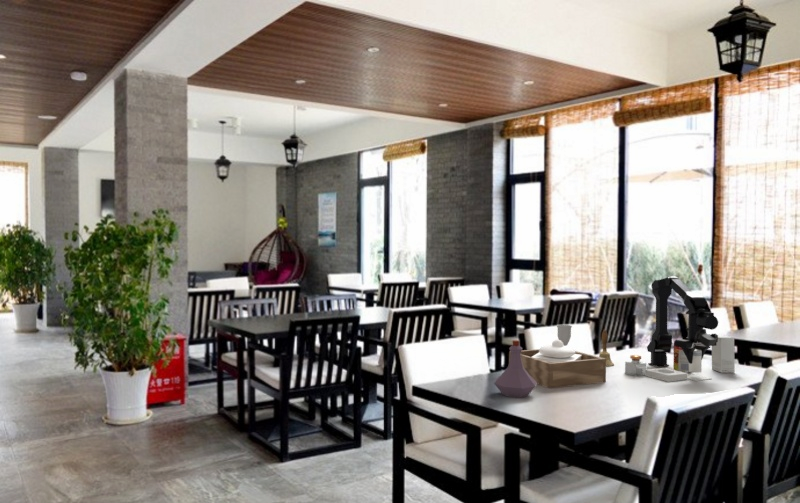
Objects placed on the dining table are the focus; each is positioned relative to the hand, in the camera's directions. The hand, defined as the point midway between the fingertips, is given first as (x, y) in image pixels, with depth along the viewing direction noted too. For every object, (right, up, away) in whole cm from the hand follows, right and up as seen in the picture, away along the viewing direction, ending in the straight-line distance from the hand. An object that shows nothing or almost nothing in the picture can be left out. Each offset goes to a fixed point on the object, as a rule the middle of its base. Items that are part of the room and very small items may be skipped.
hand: (694, 363), depth 258 cm
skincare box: (+19, -6, +15) cm, 25 cm away
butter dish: (-59, -6, -1) cm, 59 cm away
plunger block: (-22, -6, +7) cm, 24 cm away
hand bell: (-29, -6, +27) cm, 40 cm away
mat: (0, -6, 0) cm, 6 cm away
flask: (-81, -6, -30) cm, 87 cm away
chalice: (-48, -6, +26) cm, 55 cm away
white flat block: (-12, -6, +1) cm, 13 cm away
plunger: (-22, -5, +7) cm, 24 cm away
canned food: (+2, -6, +16) cm, 17 cm away
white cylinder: (0, -4, 0) cm, 4 cm away
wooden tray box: (-59, -6, -1) cm, 59 cm away
